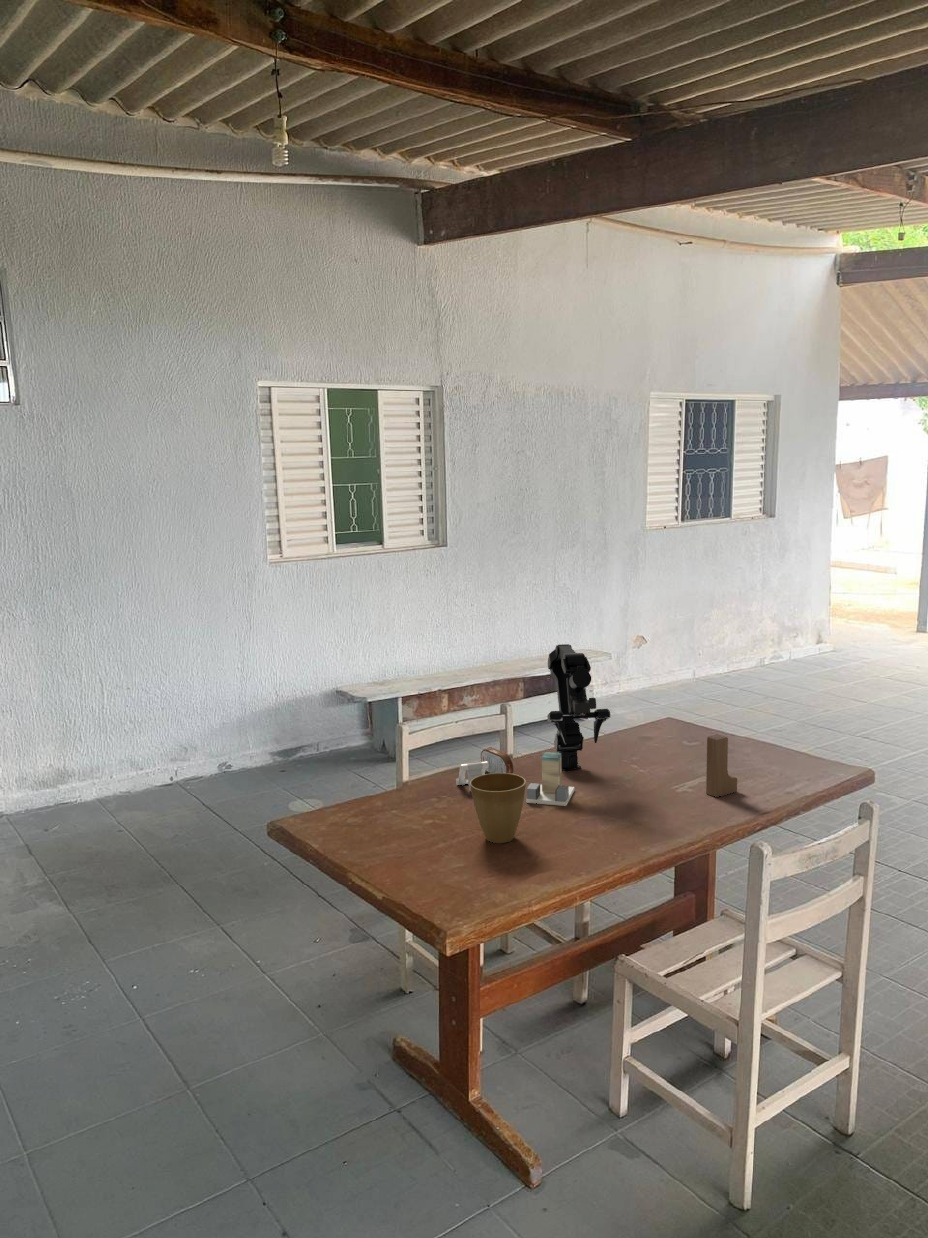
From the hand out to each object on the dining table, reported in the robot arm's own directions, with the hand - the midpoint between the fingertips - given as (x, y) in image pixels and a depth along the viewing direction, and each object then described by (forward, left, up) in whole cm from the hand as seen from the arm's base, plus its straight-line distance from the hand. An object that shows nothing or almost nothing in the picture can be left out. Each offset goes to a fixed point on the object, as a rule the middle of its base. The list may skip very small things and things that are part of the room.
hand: (580, 743), depth 283 cm
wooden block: (+25, +34, -15) cm, 45 cm away
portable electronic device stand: (-20, -27, -15) cm, 37 cm away
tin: (-26, -15, -15) cm, 34 cm away
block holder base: (0, -11, -15) cm, 19 cm away
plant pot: (+20, -41, -15) cm, 48 cm away
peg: (-1, -10, -13) cm, 17 cm away
